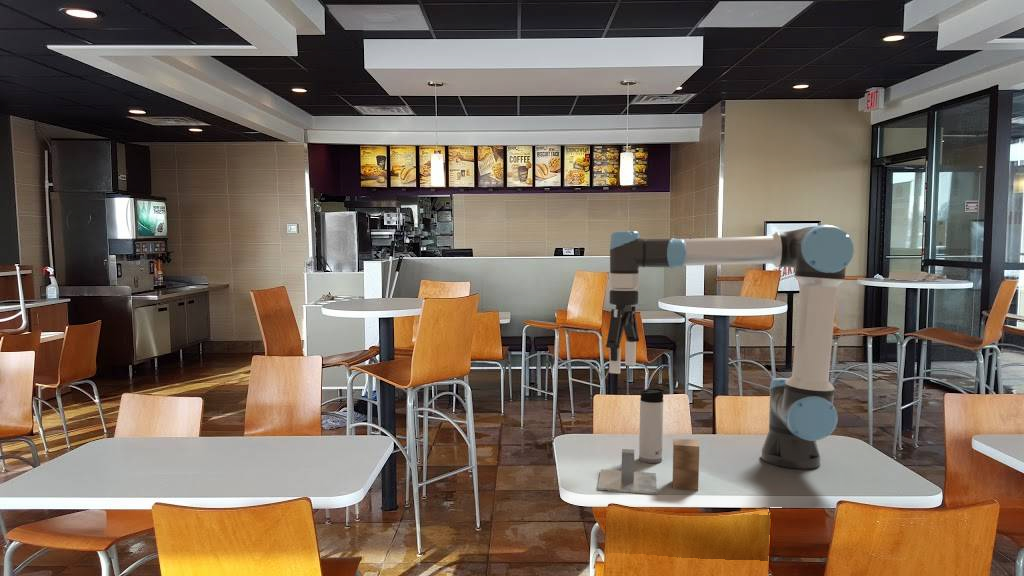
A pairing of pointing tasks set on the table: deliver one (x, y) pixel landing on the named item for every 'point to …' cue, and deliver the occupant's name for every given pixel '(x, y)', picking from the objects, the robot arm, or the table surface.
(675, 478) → the tall wooden peg
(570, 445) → the table surface
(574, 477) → the table surface
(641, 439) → the travel mug
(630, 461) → the post
